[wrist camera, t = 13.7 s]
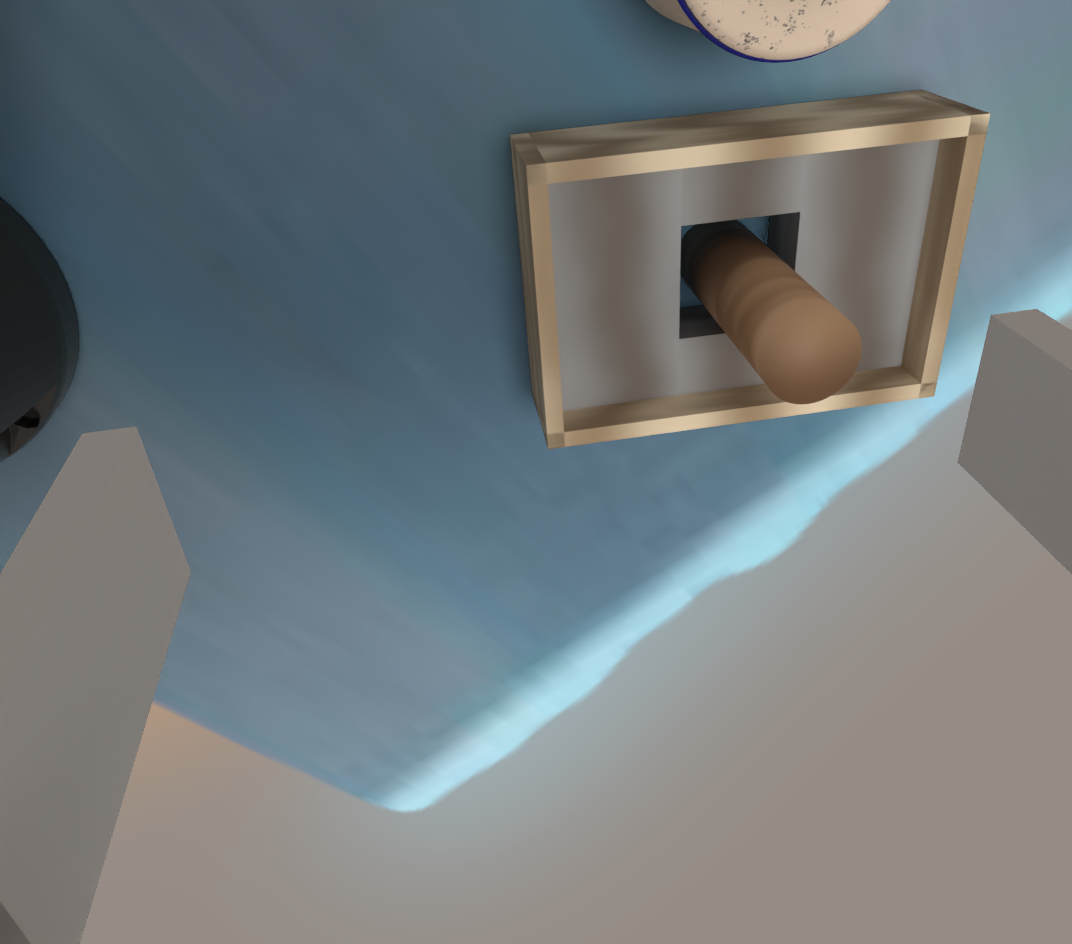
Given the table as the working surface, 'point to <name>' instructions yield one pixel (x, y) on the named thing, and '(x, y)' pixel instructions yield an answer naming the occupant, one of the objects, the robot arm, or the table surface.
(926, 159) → the box with hole
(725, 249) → the peg
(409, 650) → the table surface
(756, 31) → the teacup with lid
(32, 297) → the robot arm
